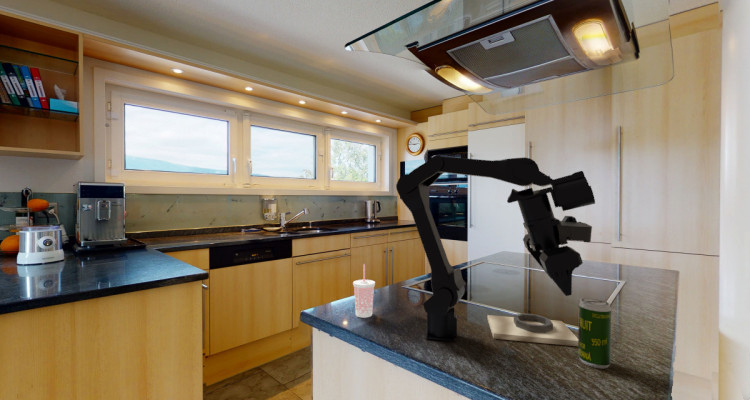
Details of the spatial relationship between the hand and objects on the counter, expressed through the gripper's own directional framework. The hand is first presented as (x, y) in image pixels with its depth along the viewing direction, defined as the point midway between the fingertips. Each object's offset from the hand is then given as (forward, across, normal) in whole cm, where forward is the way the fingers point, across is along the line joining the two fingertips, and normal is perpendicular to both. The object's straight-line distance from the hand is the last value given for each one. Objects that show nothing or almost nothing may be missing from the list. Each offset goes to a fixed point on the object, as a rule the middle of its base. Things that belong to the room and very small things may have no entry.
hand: (560, 286), depth 69 cm
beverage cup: (0, +10, +48) cm, 49 cm away
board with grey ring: (+13, +8, +8) cm, 17 cm away
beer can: (+15, -5, -1) cm, 15 cm away
